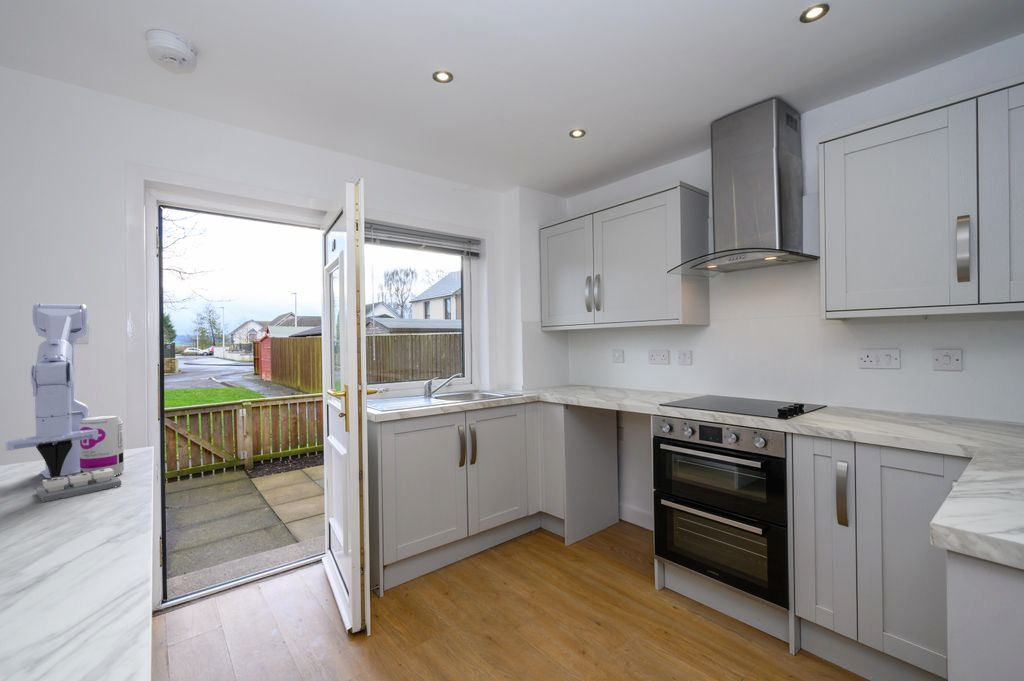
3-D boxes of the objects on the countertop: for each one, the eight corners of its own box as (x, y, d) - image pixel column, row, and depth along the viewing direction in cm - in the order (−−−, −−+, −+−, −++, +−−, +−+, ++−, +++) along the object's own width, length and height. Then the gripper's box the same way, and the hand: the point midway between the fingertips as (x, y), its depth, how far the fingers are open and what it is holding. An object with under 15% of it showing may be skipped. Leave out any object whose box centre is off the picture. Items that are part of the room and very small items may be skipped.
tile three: (43, 490, 103) (42, 479, 103) (64, 486, 105) (64, 475, 105) (45, 493, 101) (45, 482, 101) (67, 489, 103) (67, 478, 103)
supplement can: (103, 481, 112) (102, 420, 112) (70, 481, 113) (69, 420, 112) (132, 471, 121) (130, 414, 120) (101, 471, 121) (99, 414, 121)
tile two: (67, 485, 106) (67, 475, 106) (87, 482, 109) (87, 471, 109) (70, 488, 104) (70, 477, 104) (91, 484, 107) (91, 473, 107)
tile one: (90, 481, 109) (90, 470, 109) (109, 477, 112) (109, 467, 112) (94, 484, 107) (94, 473, 107) (113, 480, 110) (113, 469, 110)
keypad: (36, 493, 104) (36, 488, 104) (110, 478, 114) (110, 474, 114) (43, 502, 98) (43, 496, 98) (121, 485, 109) (121, 480, 109)
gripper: (8, 422, 95) (9, 488, 95) (100, 412, 106) (102, 471, 106) (3, 419, 99) (5, 482, 99) (93, 409, 110) (94, 466, 111)
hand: (55, 476), depth 103 cm, fingers closed
